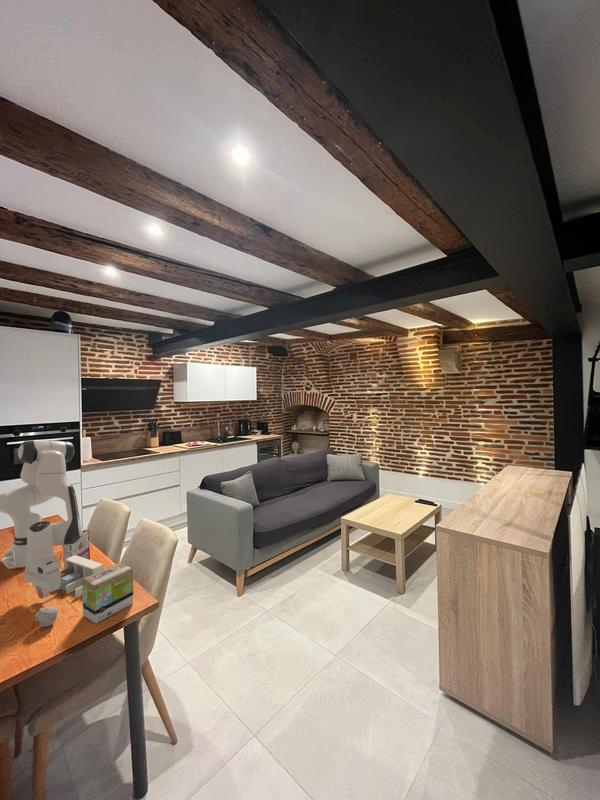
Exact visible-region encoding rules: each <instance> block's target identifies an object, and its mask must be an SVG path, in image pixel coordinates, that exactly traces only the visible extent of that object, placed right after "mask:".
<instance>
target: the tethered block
mask: <svg viewBox="0 0 600 800" xmlns="http://www.w3.org/2000/svg"><path fill="white" fill-rule="evenodd" d="M80 578H81V574H80V573H78V572H73V573H71V574H69V575H67V576H65V577H62V578H61V585H60V587H61V589H60V590H62V591H64V592H66V585H68V584H70V583H72V582H74V581H76V580H78V579H80ZM42 593H44V590H42V591H40V592H39V594H38V595H37V597H38V598H39V599H45V598H44V597H42V596H43V595H42ZM49 593H51V592H50V591H49Z"/></svg>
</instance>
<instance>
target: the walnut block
mask: <svg viewBox="0 0 600 800" xmlns="http://www.w3.org/2000/svg"><path fill="white" fill-rule="evenodd" d="M60 572H61V578H62V577H65V576H67V575H69V574H71V573H73V571H72V570H69V569H63V570H60Z"/></svg>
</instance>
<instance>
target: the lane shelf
mask: <svg viewBox="0 0 600 800" xmlns="http://www.w3.org/2000/svg"><path fill="white" fill-rule="evenodd" d="M65 562H66V569H69V570H72V571H73V572H78V573H80V574H81V578H80V579H78V580H76V581H74V582H72V583H70V584H68V585H66V591H65V593H66V594H67V595H68V594H70V593H73V592H74V595H75V598H76V599H77V598H80V597H81V596H83V578H86V577H88V576H90V575H93V574H95V573H97V572H99V571H102V570H104V563H101V562H98V561H95V560H91V559H90V560H89V559H86V558H83V557H80V556H77V555H74V556H72V557H69V558H67V559H65ZM56 590H57V591H59V590H62V589H61V587H59V588H58V589H56Z"/></svg>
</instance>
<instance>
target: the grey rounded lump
mask: <svg viewBox="0 0 600 800" xmlns="http://www.w3.org/2000/svg"><path fill="white" fill-rule="evenodd" d="M58 612H59V609H58V608H56V607H49V606H45V607H41V608H39V610H38V612H37V613H36V614H35V615H34V616H35V620H36V621H37V622H39V624H40V626H41V627H45V628H46V627H50V626H52V625H53V624H54V623H55V622H56V620H57V618H58Z"/></svg>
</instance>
